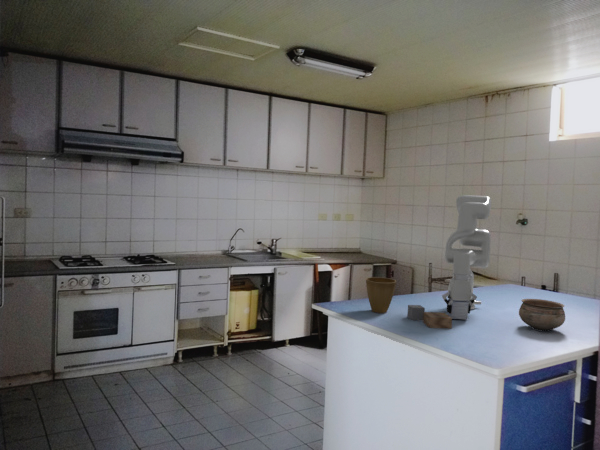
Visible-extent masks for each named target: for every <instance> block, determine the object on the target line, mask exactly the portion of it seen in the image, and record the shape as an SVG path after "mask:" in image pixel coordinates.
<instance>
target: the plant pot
mask: <svg viewBox="0 0 600 450" xmlns="http://www.w3.org/2000/svg"><path fill="white" fill-rule="evenodd" d="M365 282H366V286H365V287H366V292H367V297H368V302H369V307H370V309H371V312H372V313H376V312H377V314H386V313H387V312H388V310H389V308H390V306H391V303H392V301H393V298H394V297H393V296H394V294H395V291H396V290H395V289H396V285H397V280H396V279H393V278H388V277H381V276H380V277H379V276H378V277H377V276H372V277H366V278H365Z"/></svg>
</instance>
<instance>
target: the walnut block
mask: <svg viewBox="0 0 600 450" xmlns="http://www.w3.org/2000/svg"><path fill="white" fill-rule="evenodd" d="M422 323H424V324H425V326H427V327H428V328H430V329H450V330H451V329H452V323H453V319H452V318H451V317H450V316H449V314H447V312H438V311H437V312H433V311H425V312H424V314H423V321H422Z"/></svg>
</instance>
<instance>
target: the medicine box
mask: <svg viewBox="0 0 600 450" xmlns="http://www.w3.org/2000/svg"><path fill="white" fill-rule="evenodd" d="M468 304H469V302H468V301H453V302H452V304H451V305H452V311H451V313H448V315H449V316H450V317H451V318H452V320H466V321H467V320H468V317H469V316H468V315H469V314H468Z"/></svg>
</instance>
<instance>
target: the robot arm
mask: <svg viewBox="0 0 600 450" xmlns="http://www.w3.org/2000/svg"><path fill="white" fill-rule="evenodd" d="M455 203H456V210H457V213H458V219H457V228H456V230H455V231H454V232H452V234H450V236H449V237H448V238H447V241H446V244H445V249H444V250H445V251H444V260H445V262H446V263H448V264H451V265H452V278H450V280H449V284H448V288H447V292H446V293H443V294H442V295H441V298H442V299H443V301H444V302H445V304H446V311H447V312H446V313H448V314H449V313H451V311H452V305H451V304H452V302H453V301H468V302H469V304H468V315H469V314H470V313H471V310H475V309H476V306H475V305H481V304H482V301H481V300H476V299H478V295H475V294H474V285H475V284H474V282H475V275H474V272H473V271H472V269H471V268H479V269H486V268H488V267H489V266H490V259H491V247H492V246H491V244H492V243H491V242H492V237H491V236H492V234H491V233H490V231H489V230H487V229H481V228H479V229H478V228H477V226H478V220H487V219H489V217H490V215H491V214H490V213H491V208H492V199H491V197H490V196H487V195H471V194H470V195H468V194H465V195H459V196H457V198H456V201H455ZM457 241H459V244H460V245H461V246H463V247H473V248H454V247H453V244H454V243H455V242H457ZM452 247H453V248H452ZM474 248H475V249H474ZM476 248H480V249H476ZM447 298H448V299H447Z"/></svg>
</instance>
